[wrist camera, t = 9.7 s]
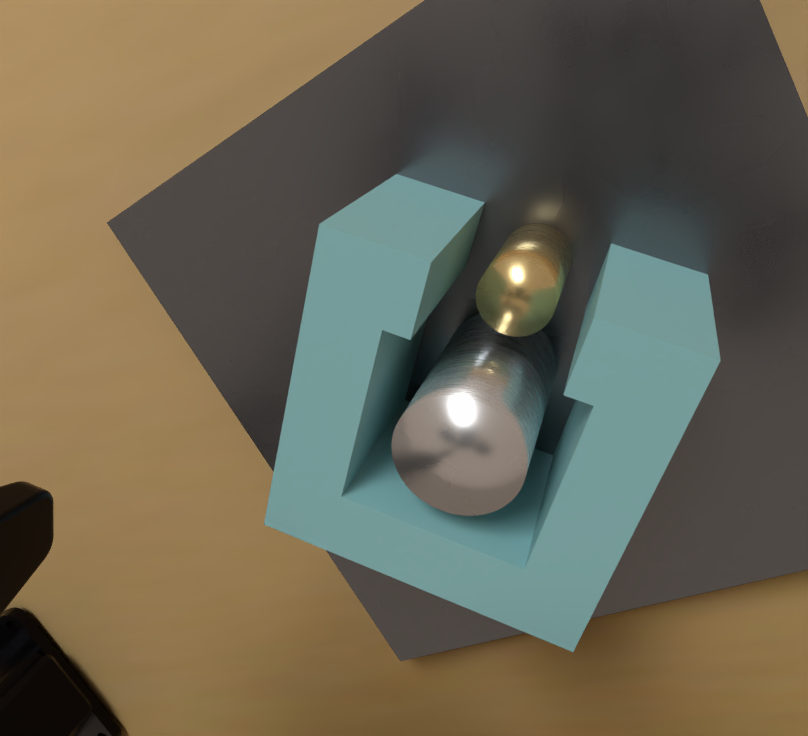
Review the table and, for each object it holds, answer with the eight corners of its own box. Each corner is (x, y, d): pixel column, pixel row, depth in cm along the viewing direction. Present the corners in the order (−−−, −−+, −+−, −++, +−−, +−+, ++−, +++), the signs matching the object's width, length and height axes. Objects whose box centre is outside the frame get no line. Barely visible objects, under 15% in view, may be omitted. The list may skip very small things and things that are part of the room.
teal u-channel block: (591, 524, 18) (573, 652, 14) (338, 427, 19) (264, 524, 15) (707, 274, 14) (720, 360, 11) (396, 173, 15) (319, 223, 12)
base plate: (410, 635, 22) (349, 787, 18) (132, 212, 19) (-24, 274, 15) (960, 502, 16) (1069, 690, 12) (683, -170, 13) (692, -256, 8)
